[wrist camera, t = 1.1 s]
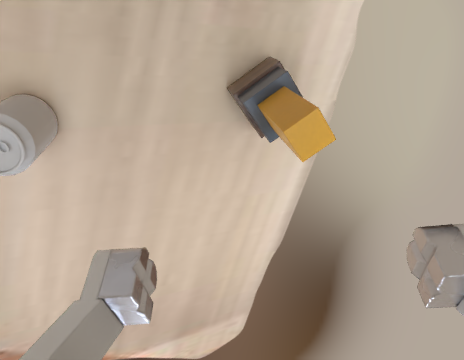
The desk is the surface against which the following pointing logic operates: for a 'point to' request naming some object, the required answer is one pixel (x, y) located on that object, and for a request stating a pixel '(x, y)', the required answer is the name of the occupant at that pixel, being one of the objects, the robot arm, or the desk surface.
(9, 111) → the can
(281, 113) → the bar
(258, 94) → the tower
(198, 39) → the desk surface
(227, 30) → the desk surface
